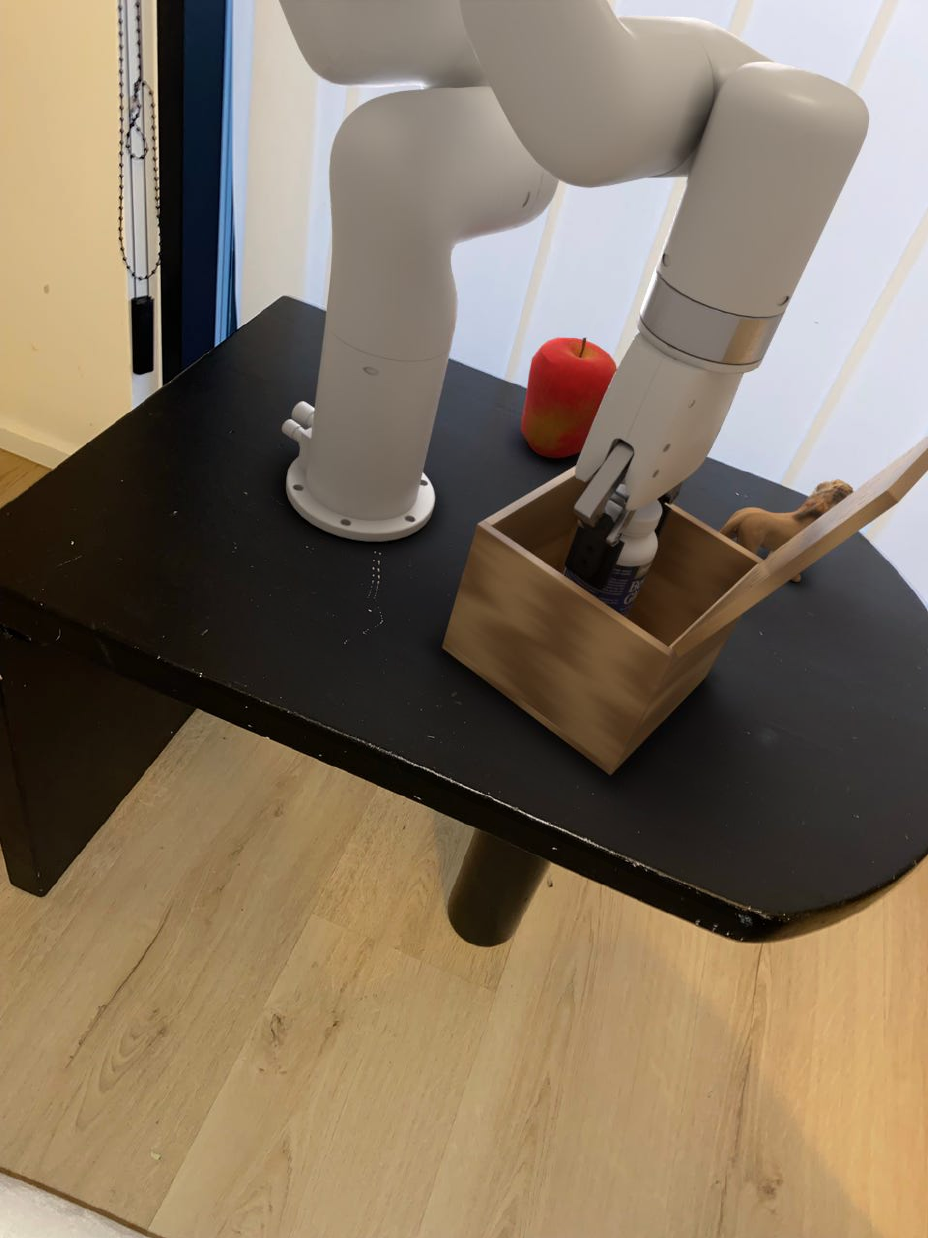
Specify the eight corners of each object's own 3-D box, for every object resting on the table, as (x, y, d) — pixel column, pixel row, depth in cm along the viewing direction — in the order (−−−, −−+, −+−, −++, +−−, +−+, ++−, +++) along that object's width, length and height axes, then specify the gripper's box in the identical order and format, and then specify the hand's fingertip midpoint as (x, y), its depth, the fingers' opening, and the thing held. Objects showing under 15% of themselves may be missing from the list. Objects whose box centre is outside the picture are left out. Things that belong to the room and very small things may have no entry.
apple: (594, 479, 91) (635, 369, 83) (509, 461, 90) (542, 348, 82) (589, 431, 97) (627, 325, 89) (509, 414, 96) (540, 305, 88)
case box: (441, 647, 70) (476, 524, 62) (551, 570, 79) (593, 454, 71) (610, 776, 64) (672, 658, 56) (706, 676, 74) (770, 564, 66)
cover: (887, 489, 44) (899, 502, 44) (970, 403, 54) (980, 413, 53) (670, 647, 56) (679, 658, 56) (770, 554, 66) (777, 563, 66)
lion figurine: (793, 541, 90) (838, 464, 84) (830, 577, 87) (879, 500, 81) (674, 561, 84) (714, 479, 78) (709, 602, 81) (753, 519, 75)
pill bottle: (622, 644, 67) (671, 536, 60) (549, 622, 67) (590, 512, 60) (627, 596, 71) (674, 491, 64) (558, 576, 71) (598, 468, 64)
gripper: (719, 261, 60) (627, 490, 72) (572, 321, 49) (492, 580, 61) (824, 312, 58) (710, 541, 70) (694, 388, 46) (585, 645, 59)
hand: (609, 557), depth 65 cm, fingers closed on pill bottle, 5 cm apart
